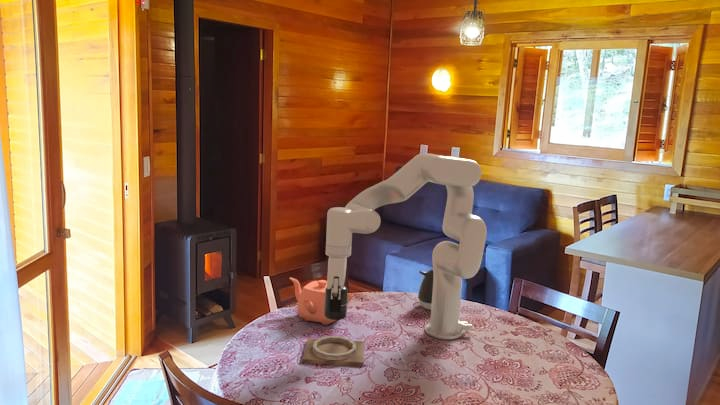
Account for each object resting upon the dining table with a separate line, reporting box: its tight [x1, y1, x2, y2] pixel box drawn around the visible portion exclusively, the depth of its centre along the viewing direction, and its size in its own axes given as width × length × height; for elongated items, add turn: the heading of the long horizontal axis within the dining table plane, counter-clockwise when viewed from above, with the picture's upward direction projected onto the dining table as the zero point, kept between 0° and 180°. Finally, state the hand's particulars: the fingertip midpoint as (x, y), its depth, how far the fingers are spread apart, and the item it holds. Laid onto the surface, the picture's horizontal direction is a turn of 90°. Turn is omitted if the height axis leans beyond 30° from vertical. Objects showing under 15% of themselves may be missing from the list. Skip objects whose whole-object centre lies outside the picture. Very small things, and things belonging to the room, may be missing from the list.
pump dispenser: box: [417, 268, 433, 311], centre depth 203 cm, size 10×10×15 cm
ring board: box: [301, 335, 365, 367], centre depth 163 cm, size 18×14×3 cm
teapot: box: [289, 277, 354, 326], centre depth 189 cm, size 18×18×14 cm
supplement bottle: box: [324, 281, 349, 321], centre depth 160 cm, size 7×7×12 cm
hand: (336, 306), depth 161 cm, fingers closed on supplement bottle, 6 cm apart
